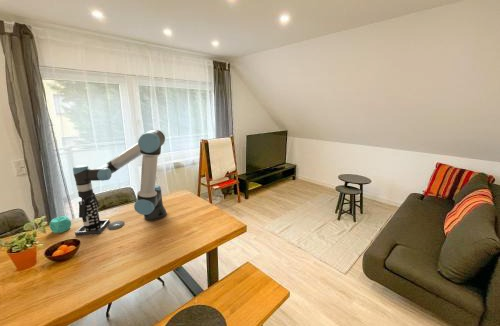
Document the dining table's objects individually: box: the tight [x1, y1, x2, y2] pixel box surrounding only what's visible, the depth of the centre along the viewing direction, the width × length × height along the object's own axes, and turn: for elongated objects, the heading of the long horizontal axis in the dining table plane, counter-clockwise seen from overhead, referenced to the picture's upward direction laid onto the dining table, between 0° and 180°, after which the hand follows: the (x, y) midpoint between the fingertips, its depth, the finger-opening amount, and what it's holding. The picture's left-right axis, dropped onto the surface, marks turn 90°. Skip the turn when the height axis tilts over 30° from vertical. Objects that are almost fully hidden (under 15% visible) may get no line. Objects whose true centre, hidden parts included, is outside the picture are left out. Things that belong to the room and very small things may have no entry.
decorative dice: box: [48, 215, 72, 234], centre depth 142 cm, size 8×8×8 cm
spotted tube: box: [84, 198, 102, 231], centre depth 142 cm, size 8×8×20 cm
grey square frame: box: [74, 218, 111, 237], centre depth 144 cm, size 14×14×2 cm
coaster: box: [106, 220, 126, 231], centre depth 148 cm, size 10×10×1 cm
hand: (91, 220), depth 143 cm, fingers open, 11 cm apart
